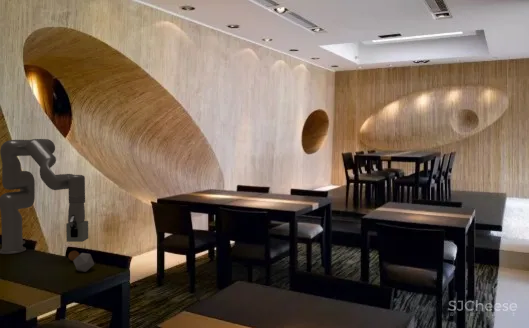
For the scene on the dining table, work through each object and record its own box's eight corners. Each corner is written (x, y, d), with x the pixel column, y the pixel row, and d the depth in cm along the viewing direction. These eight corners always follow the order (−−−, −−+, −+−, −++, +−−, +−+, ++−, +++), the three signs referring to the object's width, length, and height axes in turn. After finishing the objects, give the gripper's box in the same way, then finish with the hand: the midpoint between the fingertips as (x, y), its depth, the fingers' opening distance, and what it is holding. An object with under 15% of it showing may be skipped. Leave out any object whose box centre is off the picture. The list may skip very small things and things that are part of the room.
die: (98, 270, 205) (94, 252, 209) (90, 266, 197) (86, 247, 201) (81, 277, 204) (77, 258, 208) (72, 273, 196) (69, 253, 200)
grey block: (72, 238, 221) (72, 220, 221) (88, 238, 222) (88, 220, 221) (66, 241, 214) (66, 223, 213) (82, 241, 214) (82, 223, 214)
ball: (83, 255, 221) (75, 261, 221) (76, 247, 220) (68, 253, 221) (79, 257, 216) (71, 264, 216) (72, 250, 215) (64, 256, 216)
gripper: (76, 197, 225) (76, 231, 226) (61, 202, 208) (62, 239, 209) (91, 197, 226) (91, 231, 226) (77, 202, 208) (78, 239, 209)
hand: (77, 235), depth 218 cm, fingers closed on grey block, 7 cm apart
